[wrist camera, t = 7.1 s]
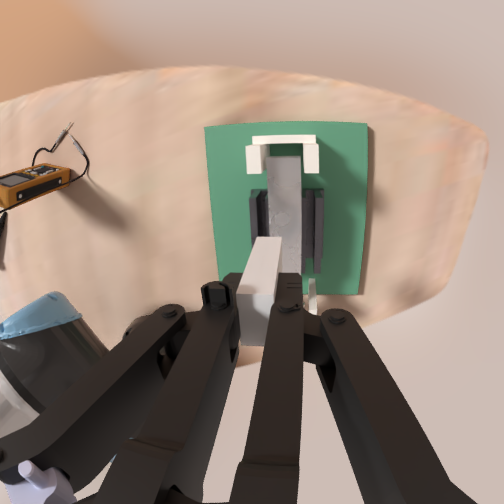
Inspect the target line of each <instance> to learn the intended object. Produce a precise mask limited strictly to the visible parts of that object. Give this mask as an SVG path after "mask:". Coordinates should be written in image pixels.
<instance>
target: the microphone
mask: <svg viewBox="0 0 504 504" xmlns="http://www.w3.org/2000/svg"><path fill="white" fill-rule="evenodd" d="M5 216H6V212H4V213H3V215H2V216H1V218H0V236H1V233H2V230H3V227H4V224H5V223H4V220H5Z"/></svg>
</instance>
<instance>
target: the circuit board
mask: <svg viewBox="0 0 504 504" xmlns="http://www.w3.org/2000/svg"><path fill="white" fill-rule="evenodd" d="M204 130H205V143H206V155H207V167H208V179H209V190H210V200H211V210H212V220H213V229H214V239H215V248H216V256H217V265H218V273H219V281H222V280H223V278H224V277H225V276H226V275H227V274H229V273H230V272H233V273H244V270H245V267H246V265H247V262H248V259H249V257H250V254H251V251H252V244H251V227H250V211H249V197H250V196H251V190H252V189H268V187H267V167H266V158H267V157H268V156H300V157H301V188H315V189H324V233H323V258H321V272H320V274H314V269H313V258H306V265H305V273H301V276H302V284H303V294H308V297H309V313H311V314H314V315H317V299H316V294H358V287H359V280H360V271H361V263H362V253H363V243H364V231H365V218H366V200H367V172H368V131H367V123H352V122H325V121H286V122H259V123H243V124H230V125H219V126H210V127H204Z"/></svg>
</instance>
